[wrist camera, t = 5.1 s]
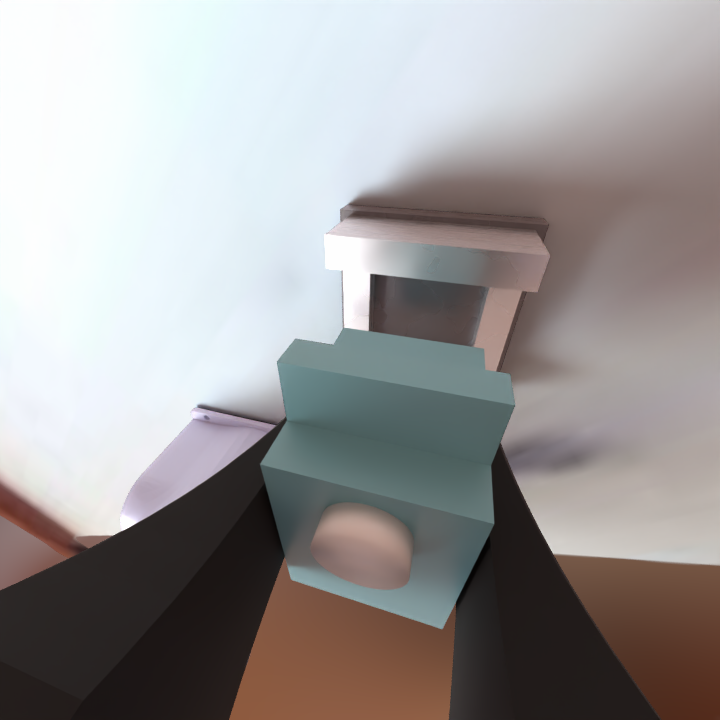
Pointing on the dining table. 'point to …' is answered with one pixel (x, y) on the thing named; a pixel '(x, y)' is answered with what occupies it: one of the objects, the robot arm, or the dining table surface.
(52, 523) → the dining table surface
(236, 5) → the dining table surface
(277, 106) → the dining table surface
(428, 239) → the plate
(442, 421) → the block
